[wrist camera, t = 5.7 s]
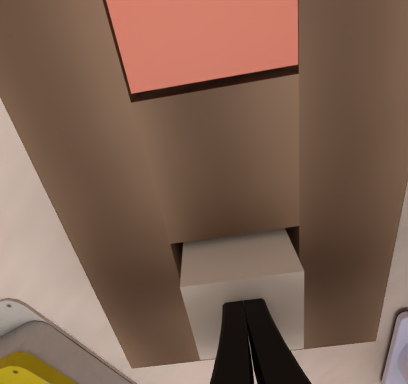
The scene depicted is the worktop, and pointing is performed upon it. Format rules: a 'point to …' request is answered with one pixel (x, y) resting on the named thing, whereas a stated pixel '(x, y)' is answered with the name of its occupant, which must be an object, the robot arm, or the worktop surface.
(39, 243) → the worktop surface
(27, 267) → the worktop surface
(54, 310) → the worktop surface
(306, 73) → the walnut plunger housing
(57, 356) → the emergency button
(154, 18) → the salmon red square block
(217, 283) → the off-white plunger
